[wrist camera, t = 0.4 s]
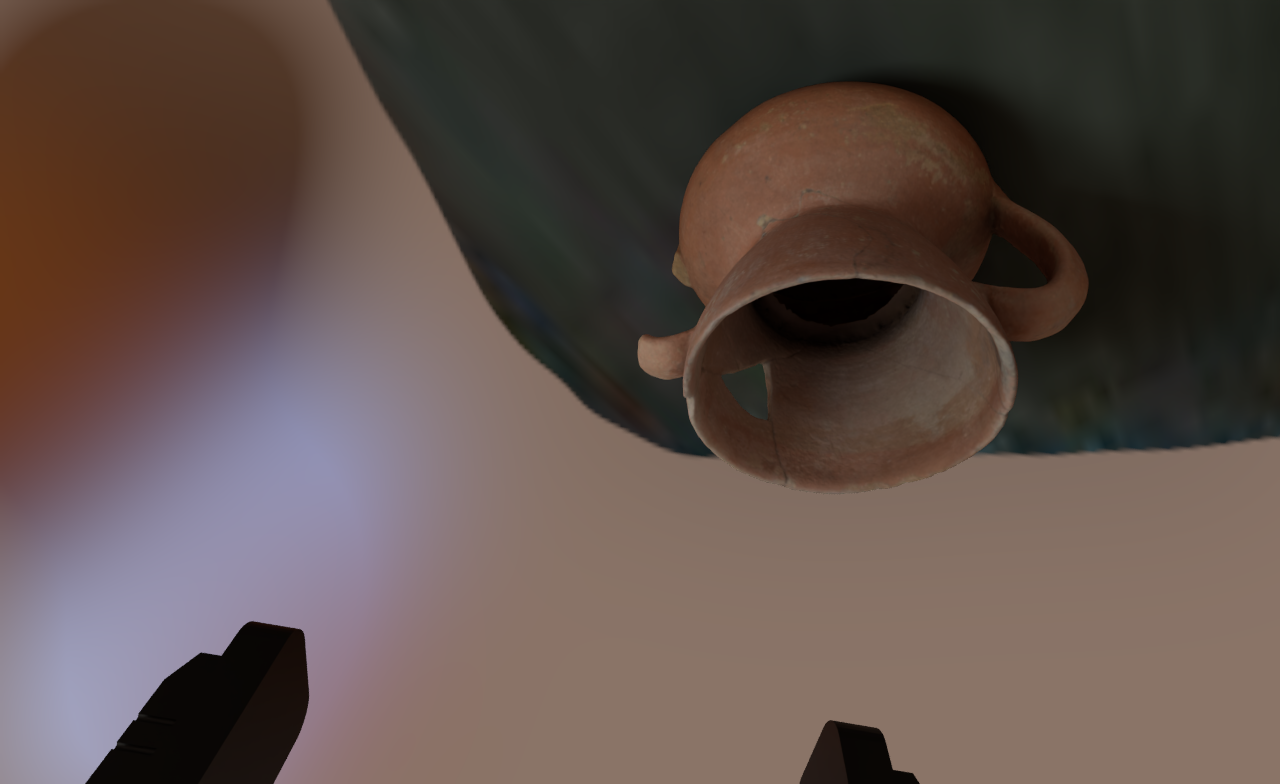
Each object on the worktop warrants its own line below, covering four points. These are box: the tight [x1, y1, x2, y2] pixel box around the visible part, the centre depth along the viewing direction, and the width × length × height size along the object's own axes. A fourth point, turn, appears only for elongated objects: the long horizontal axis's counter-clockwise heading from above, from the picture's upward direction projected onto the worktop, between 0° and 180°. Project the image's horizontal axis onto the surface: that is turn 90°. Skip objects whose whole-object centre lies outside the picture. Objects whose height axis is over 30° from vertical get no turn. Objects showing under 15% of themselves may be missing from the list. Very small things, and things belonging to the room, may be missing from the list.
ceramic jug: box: [638, 81, 1089, 494], centre depth 33 cm, size 18×14×14 cm
